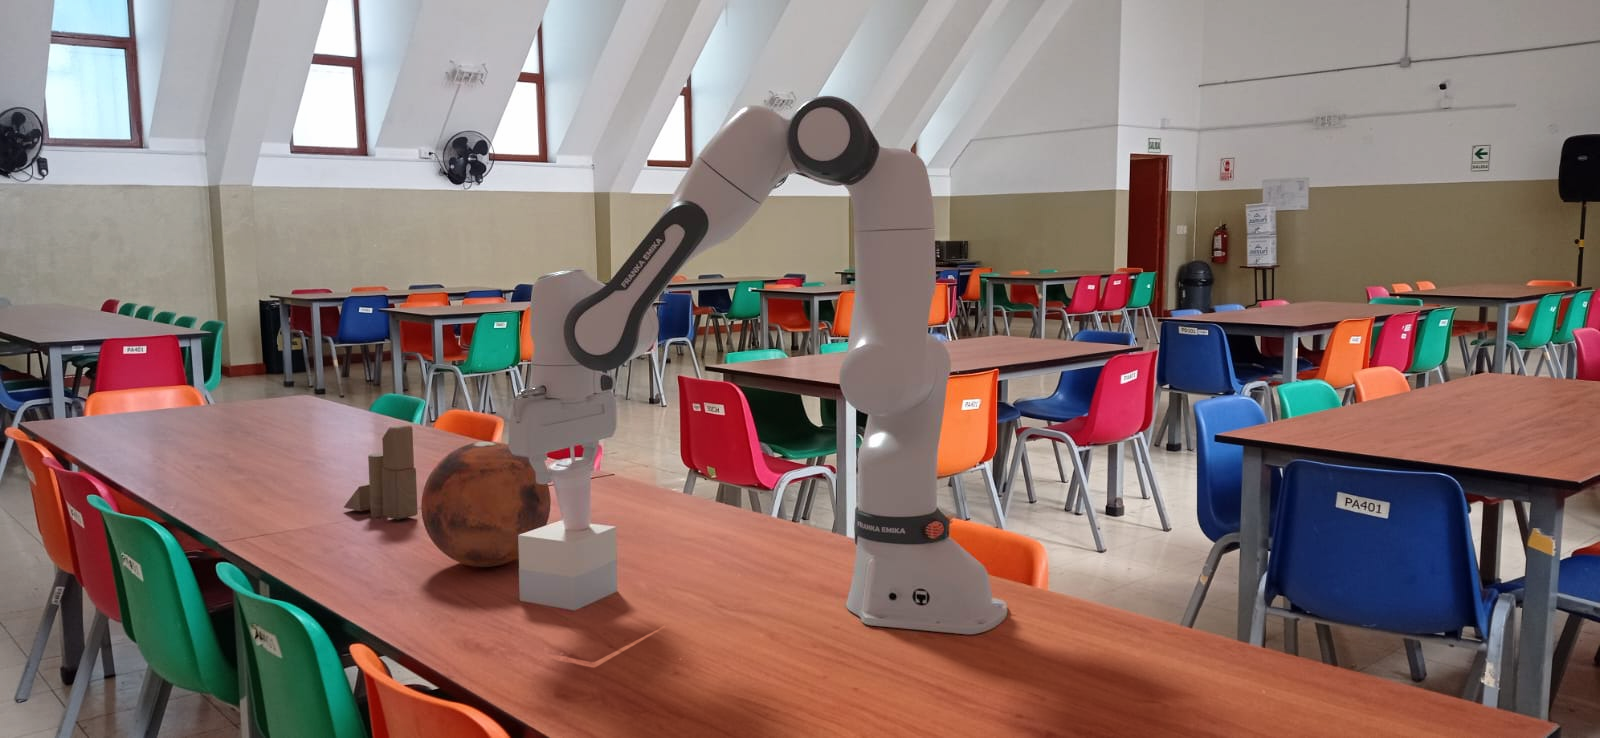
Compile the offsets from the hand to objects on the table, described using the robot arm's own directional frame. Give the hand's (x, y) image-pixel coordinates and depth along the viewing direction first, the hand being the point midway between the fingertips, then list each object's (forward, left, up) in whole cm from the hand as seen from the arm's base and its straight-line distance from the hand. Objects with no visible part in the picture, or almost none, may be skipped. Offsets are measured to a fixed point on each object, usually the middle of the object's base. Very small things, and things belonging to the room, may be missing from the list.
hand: (565, 477), depth 165 cm
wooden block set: (+64, -23, -18) cm, 71 cm away
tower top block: (0, 0, -13) cm, 13 cm away
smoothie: (0, -2, -8) cm, 8 cm away
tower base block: (0, 0, -18) cm, 18 cm away
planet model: (+22, -7, -18) cm, 29 cm away
